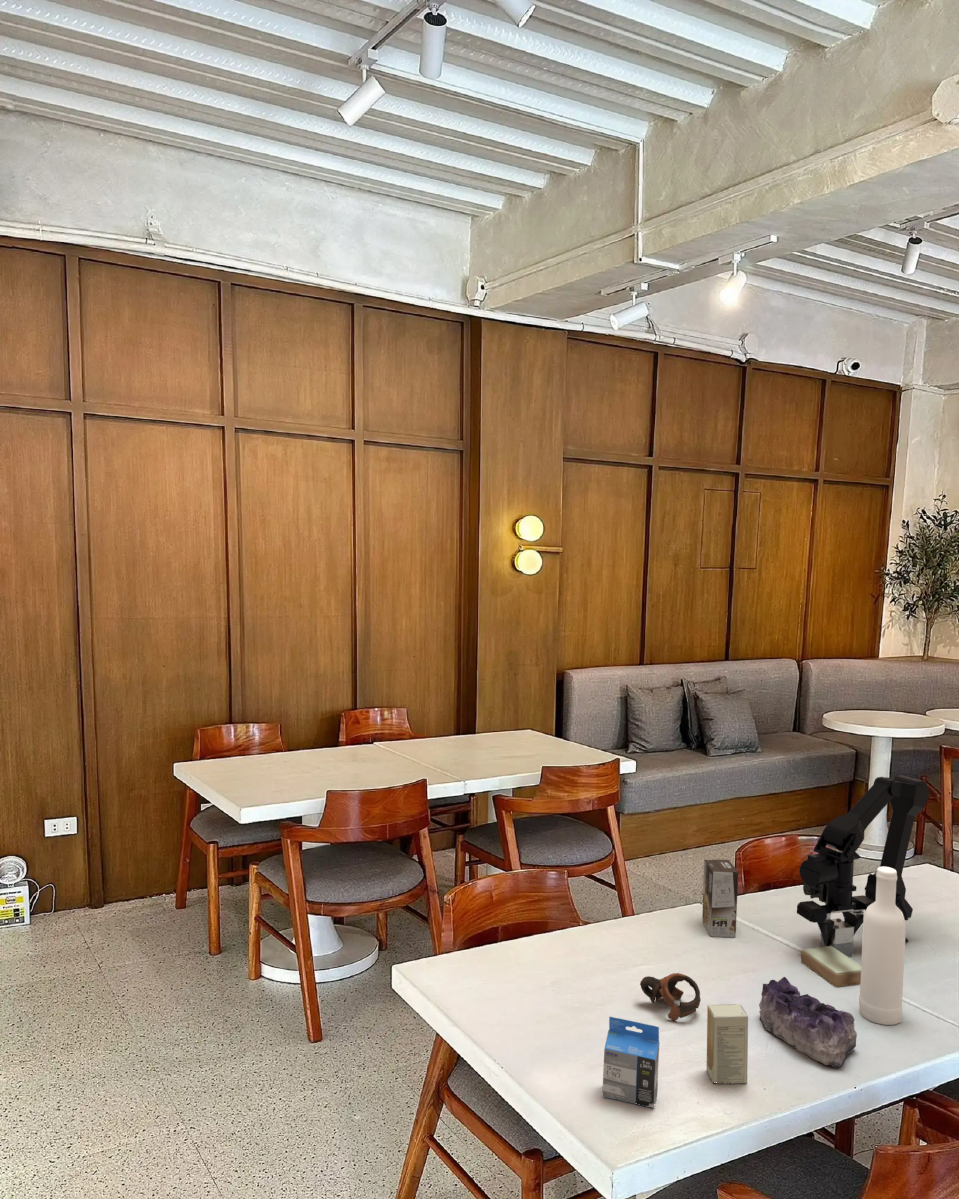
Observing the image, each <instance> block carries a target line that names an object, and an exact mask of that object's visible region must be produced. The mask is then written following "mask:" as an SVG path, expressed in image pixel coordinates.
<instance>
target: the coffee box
mask: <svg viewBox="0 0 959 1199" xmlns="http://www.w3.org/2000/svg"><path fill="white" fill-rule="evenodd" d="M702 880H703V882H702V889H703V890H702V923H703V926H704V927H705V929H706V931H707V932H708V935H710V937H716V938H717V937H719V938H720V937H721V938H736V937H737V936H736V934H737V915H738V913H737V911H738V889H739V888H738V887H739V886H738V885H739V871H738V870H737V868H736V867H735V866H734V865H733V864H732V863H731V861H730V860H729V859H704V860H703V878H702Z"/></svg>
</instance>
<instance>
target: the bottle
mask: <svg viewBox="0 0 959 1199" xmlns="http://www.w3.org/2000/svg"><path fill="white" fill-rule="evenodd" d="M876 871H877V873H876V878H877V881H876V901H875V902H874V903H872V904H871V905H869V906H868V907H867V909H866V911H865V910H864V918H863V923H862V940H861V941H862V942H861V946H862V947H861V962H860V965H861V982H860V984H859V986H860V987H859V989H860V990H859V996H858V997H859V998H858V1005H859V1006H858V1008H859V1009H858V1010H859V1011H858V1012H859V1013H860V1015H861V1016H862V1017H863V1018H865V1019H866V1020H868V1021H870V1022H872V1023H874V1024H875V1023H876V1024H879V1025H885V1026H894V1025H897V1024H899V1023H900V1022H901V1021H902V1015H903V993H904V992H903V989H904V969H905V968H904V966H905V954H906V953H905V952H906V951H905V950H906V949H905V948H906V942H905V938H906V930H907V927H906V926H907V924H906V920H905V919H904V916H903V913H902V911H901V910H900V909H899V908H898V907H897V906H896V905H895V899H896V881H897V871H896V870H895V869H893V868H890V867H884V866H882V867H880V866H879V867H877V868H876Z"/></svg>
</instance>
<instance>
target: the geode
mask: <svg viewBox="0 0 959 1199" xmlns="http://www.w3.org/2000/svg"><path fill="white" fill-rule="evenodd" d="M760 994H761V1000H760V1001H759V1003H758V1006H759V1009H760V1010H759V1017H760V1018H759V1020H760V1022H761V1024H762V1027H763V1028H764V1030H765V1031H767V1032H769V1033H771V1034H772V1035H774V1036H776V1037H777V1038H779V1039H781V1040H782V1041H784V1042H785V1043H786V1044H788V1046H789V1045H790V1046H791V1047H792V1048H794V1049H796V1050H797V1051H798V1052H800V1053H801V1054H805V1055H806V1056H807V1057H809V1058H811V1059H813V1060H815V1061H816V1062H819V1063H822V1064H823V1065H826V1066H832V1067H833V1068H836V1069H837V1068H840V1067H841V1066H842V1064H844V1062H845V1059H846V1056H847V1055H850V1054H849V1053H851V1052H852V1051H854V1049H855V1048H856V1046H857V1036H858V1035H857V1034H858V1033H857V1031H856V1030H855V1017H854V1016H853V1014H852V1013H850V1012H847V1011H844V1010H838V1009H837V1008H835V1006H832V1005H830V1004H828V1003H827V1004H826V1003H824V1002H821V1001H820V1000H819V999H817V998H816V997H814V996H811V995H810V994H809V993H806V994H802V995H801V992H800V991H799V988H798V987H797V986H796V985H793V984H791V982H790V981H789V980H788V979H787V977H786V976H783V977H782V978H780V979H779V980H778V981H777V980H775V979H770V981H769V982H768V983H762V989H761V993H760Z"/></svg>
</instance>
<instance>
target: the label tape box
mask: <svg viewBox="0 0 959 1199" xmlns="http://www.w3.org/2000/svg"><path fill="white" fill-rule="evenodd" d="M627 1027H628V1028H633V1027H635V1028H636V1029H637V1030H641V1031H642V1032H641V1031H634V1030H629V1029H627ZM608 1028H609V1029H608V1031H607V1036H606V1041H605V1045H604V1048H603V1049H604V1050H603V1052H604V1053H603V1070H602V1071H603V1074H602V1097H603V1096H605V1097H604V1098H608V1099H611V1098H612V1100H616V1099H617V1100H616V1101H621V1102H626V1103H629V1102H631V1103H630V1104H633V1103H637V1104H640V1105H639V1106H642V1105H644V1106H643V1107H646V1106H648V1108H650V1107H652V1108H651V1109H654V1108H655V1106H654V1104H656V1102H655V1101H657V1099H656V1098H658V1091H659V1089H658V1086H659V1084H658V1083H659V1061H660V1060H659V1059H660V1058H659V1057H660V1026H657V1025H653V1024H648V1023H644V1022H638V1021H633V1020H630V1019H629V1020H628V1019H624V1018H620V1017H614V1016H609V1021H608ZM637 1104H636V1105H637Z"/></svg>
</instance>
